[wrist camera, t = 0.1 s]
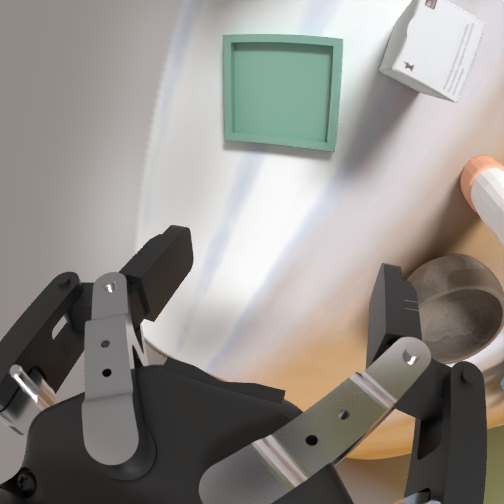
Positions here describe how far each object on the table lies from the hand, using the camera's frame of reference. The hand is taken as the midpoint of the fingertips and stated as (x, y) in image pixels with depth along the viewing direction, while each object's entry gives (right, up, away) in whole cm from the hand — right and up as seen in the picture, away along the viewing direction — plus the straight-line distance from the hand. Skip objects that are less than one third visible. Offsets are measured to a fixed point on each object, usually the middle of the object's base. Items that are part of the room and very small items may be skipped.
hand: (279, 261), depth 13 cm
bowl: (+29, -5, +30) cm, 42 cm away
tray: (+3, +20, +22) cm, 30 cm away
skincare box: (+17, +24, +14) cm, 32 cm away
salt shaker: (+29, +10, +19) cm, 37 cm away
